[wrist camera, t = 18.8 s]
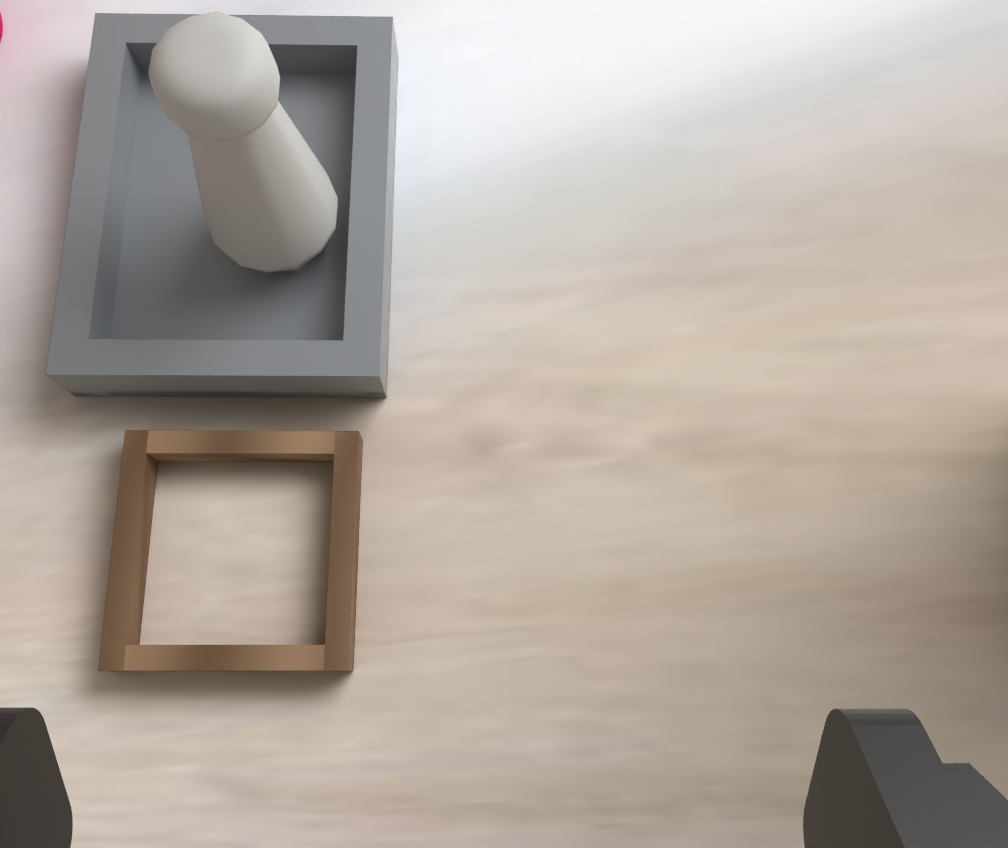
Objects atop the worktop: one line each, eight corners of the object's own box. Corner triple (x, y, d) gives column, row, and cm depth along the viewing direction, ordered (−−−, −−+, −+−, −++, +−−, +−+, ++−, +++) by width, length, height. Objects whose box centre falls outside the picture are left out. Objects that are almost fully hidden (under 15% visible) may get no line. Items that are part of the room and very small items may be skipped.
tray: (398, 57, 48) (392, 16, 45) (386, 397, 43) (379, 375, 40) (118, 54, 48) (95, 13, 45) (74, 396, 43) (45, 374, 40)
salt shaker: (263, 315, 43) (173, 159, 31) (196, 223, 44) (83, 38, 32) (369, 245, 44) (324, 68, 32) (301, 157, 45) (231, -47, 33)
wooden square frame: (362, 440, 42) (358, 431, 41) (353, 671, 40) (348, 670, 38) (137, 439, 42) (125, 430, 41) (112, 671, 39) (98, 670, 38)
